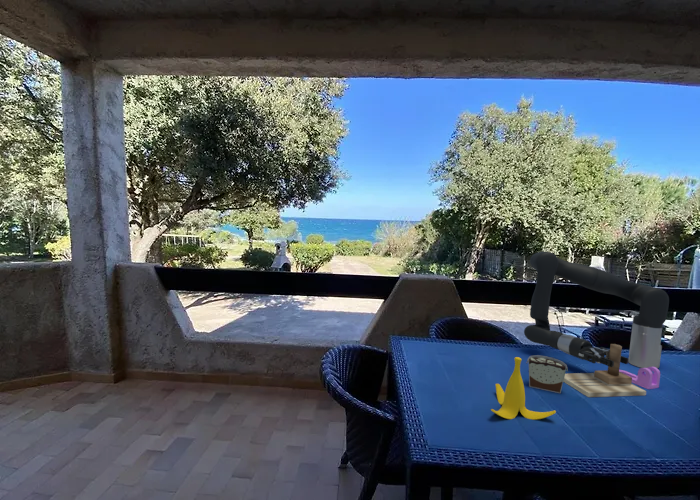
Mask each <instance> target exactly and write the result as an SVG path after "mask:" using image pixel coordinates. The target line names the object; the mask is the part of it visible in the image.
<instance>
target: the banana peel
mask: <svg viewBox="0 0 700 500" xmlns="http://www.w3.org/2000/svg"><path fill="white" fill-rule="evenodd" d="M513 359H514V367H513V372H512V373H511V375H510V377H509V379H508V382H507V384H506V387H505V391H504V389H503V387H502V386H501V384H500V383H495V393H496V399H497V402H498V404H499V405H501V407H500V408H499V409H498V410H495V409H493V408H491V409H490V411H491V412H493V414H496V415H497V416H499V417H501V418H504V419H506V420H513V419H515V418H516V417H517V416H518V413H519V412H520V414H521V415H522V417H524V419H528V420H534V421H535V420H541V419H545V418H549V417H550V416H553V415H555V414H557V411H556V410H551V411H543V412H542V411H533V410H530V409H527V407H526V392H525V391H526V390H525V385H524V380H523V378H522V377H523V376H522V374H521V364H522V358H521V357H519V356H516V357H514V358H513Z"/></svg>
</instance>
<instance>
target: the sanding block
mask: <svg viewBox="0 0 700 500" xmlns="http://www.w3.org/2000/svg"><path fill="white" fill-rule="evenodd" d="M609 349H610V353H609V359H610V360H612V361H614V366H613V367H610V366H607V369H605V370H604V369H602V370H594V372H593V373H594V378H595V379H597V380H598V381H600V382H602V383H604V384H606V385H608V386H627V385H631V384H633V383H632V377H630V376H628V375H625V374H623V373H621V372H619V370H620V367H621V362H620V359H621V356H622V351H623V350H622V349H623V346H622V345H620V344H616V343H610V347H609Z"/></svg>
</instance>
